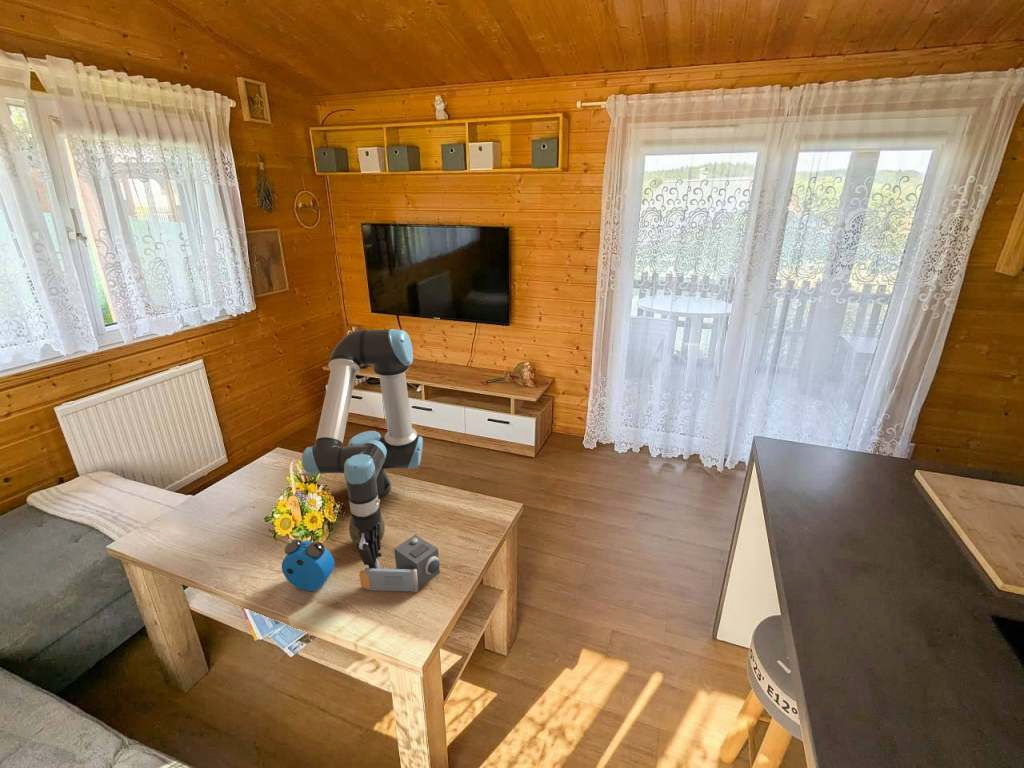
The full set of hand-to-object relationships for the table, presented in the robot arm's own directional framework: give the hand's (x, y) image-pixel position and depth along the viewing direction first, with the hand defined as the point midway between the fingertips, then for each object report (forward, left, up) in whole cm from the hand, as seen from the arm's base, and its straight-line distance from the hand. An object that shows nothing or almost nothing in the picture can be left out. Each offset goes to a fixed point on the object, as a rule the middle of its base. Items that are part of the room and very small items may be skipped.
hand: (375, 576), depth 139 cm
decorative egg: (-17, +3, -2) cm, 17 cm away
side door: (+5, +2, -2) cm, 6 cm away
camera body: (+3, +12, -2) cm, 12 cm away
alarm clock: (-9, -16, -2) cm, 19 cm away
